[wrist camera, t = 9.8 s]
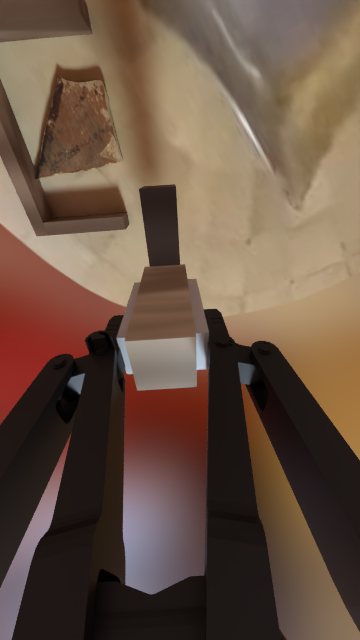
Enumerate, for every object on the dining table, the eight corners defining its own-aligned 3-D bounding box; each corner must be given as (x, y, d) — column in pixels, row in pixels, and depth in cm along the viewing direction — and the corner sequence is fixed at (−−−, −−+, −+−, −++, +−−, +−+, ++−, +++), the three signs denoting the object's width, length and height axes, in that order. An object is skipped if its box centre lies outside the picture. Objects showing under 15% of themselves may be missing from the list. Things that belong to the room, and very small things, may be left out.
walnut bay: (-41, 18, 19) (-72, -4, 16) (86, 6, 19) (74, -18, 16) (47, 230, 29) (36, 236, 27) (129, 224, 29) (125, 229, 27)
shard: (41, 178, 26) (33, 179, 25) (2, 91, 22) (-10, 85, 20) (125, 164, 26) (122, 164, 24) (103, 71, 21) (98, 64, 20)
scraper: (138, 186, 16) (88, 208, 6) (180, 184, 16) (195, 202, 6) (158, 330, 24) (150, 437, 14) (186, 328, 24) (197, 435, 14)
